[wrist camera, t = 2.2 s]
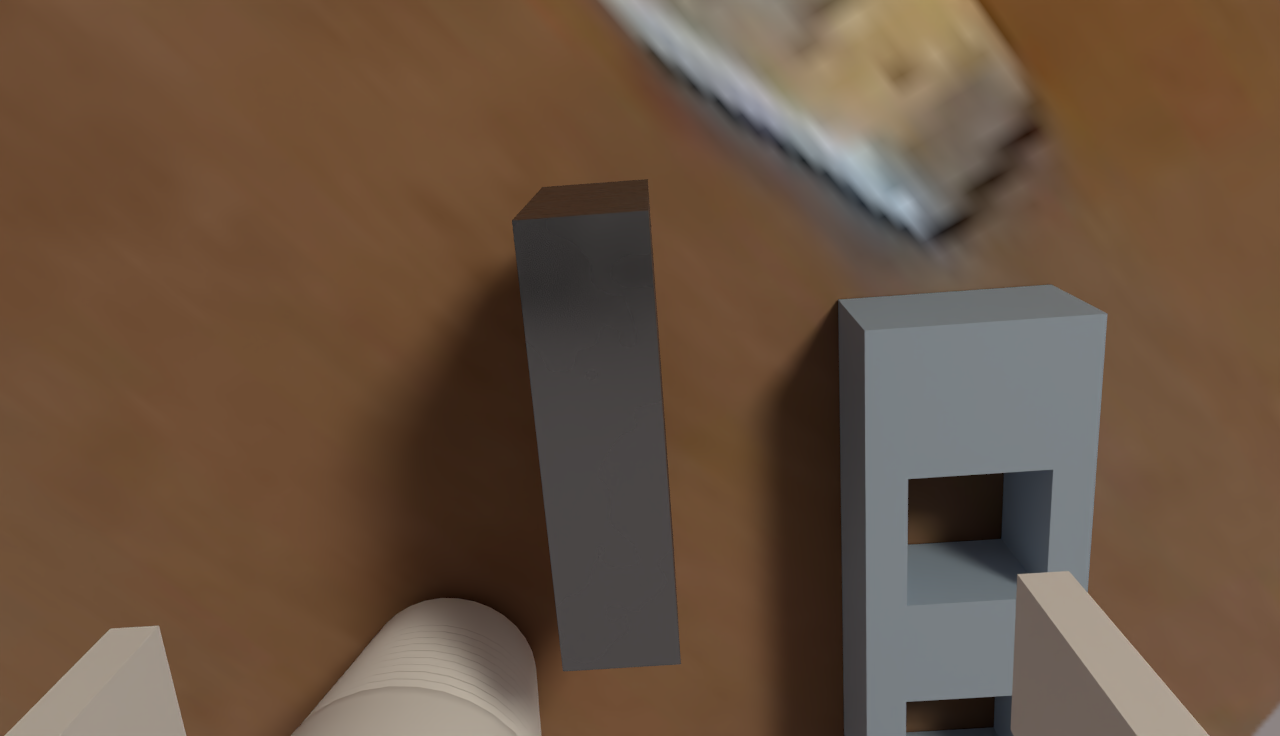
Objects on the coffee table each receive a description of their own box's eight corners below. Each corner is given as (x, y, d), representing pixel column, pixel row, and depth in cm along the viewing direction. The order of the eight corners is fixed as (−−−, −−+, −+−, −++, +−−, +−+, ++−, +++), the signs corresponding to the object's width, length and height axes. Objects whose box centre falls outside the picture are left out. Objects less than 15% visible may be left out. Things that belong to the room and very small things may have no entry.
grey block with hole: (845, 837, 38) (867, 922, 34) (838, 299, 32) (864, 330, 28) (1022, 827, 38) (1064, 911, 34) (1051, 284, 32) (1107, 313, 28)
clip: (586, 503, 34) (563, 671, 24) (553, 174, 31) (512, 220, 21) (670, 497, 34) (680, 664, 24) (647, 167, 30) (648, 210, 21)
